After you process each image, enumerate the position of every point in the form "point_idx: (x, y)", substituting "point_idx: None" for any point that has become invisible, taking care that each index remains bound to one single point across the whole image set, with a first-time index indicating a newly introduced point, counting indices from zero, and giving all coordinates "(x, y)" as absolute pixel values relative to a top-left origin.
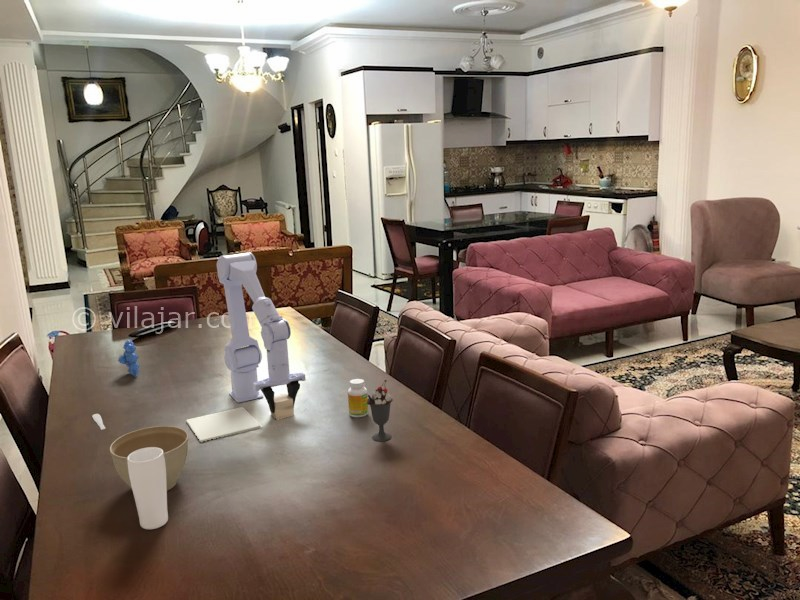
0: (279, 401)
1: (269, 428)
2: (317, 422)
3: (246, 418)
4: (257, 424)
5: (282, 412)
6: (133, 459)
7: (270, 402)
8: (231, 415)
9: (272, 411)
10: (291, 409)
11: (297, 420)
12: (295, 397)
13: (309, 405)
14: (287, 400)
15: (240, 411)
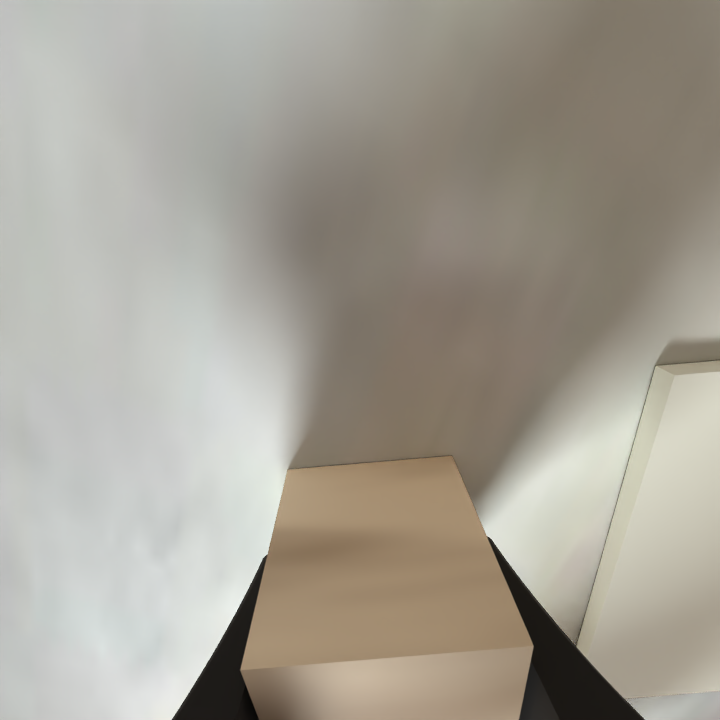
0: (461, 664)
1: (600, 306)
2: (58, 178)
3: (666, 557)
4: (678, 413)
5: (404, 506)
6: None
7: (599, 676)
8: (709, 633)
9: (498, 550)
10: (299, 522)
11: (282, 357)
12: (191, 695)
13: (125, 586)
14: (333, 656)
15: (623, 660)
